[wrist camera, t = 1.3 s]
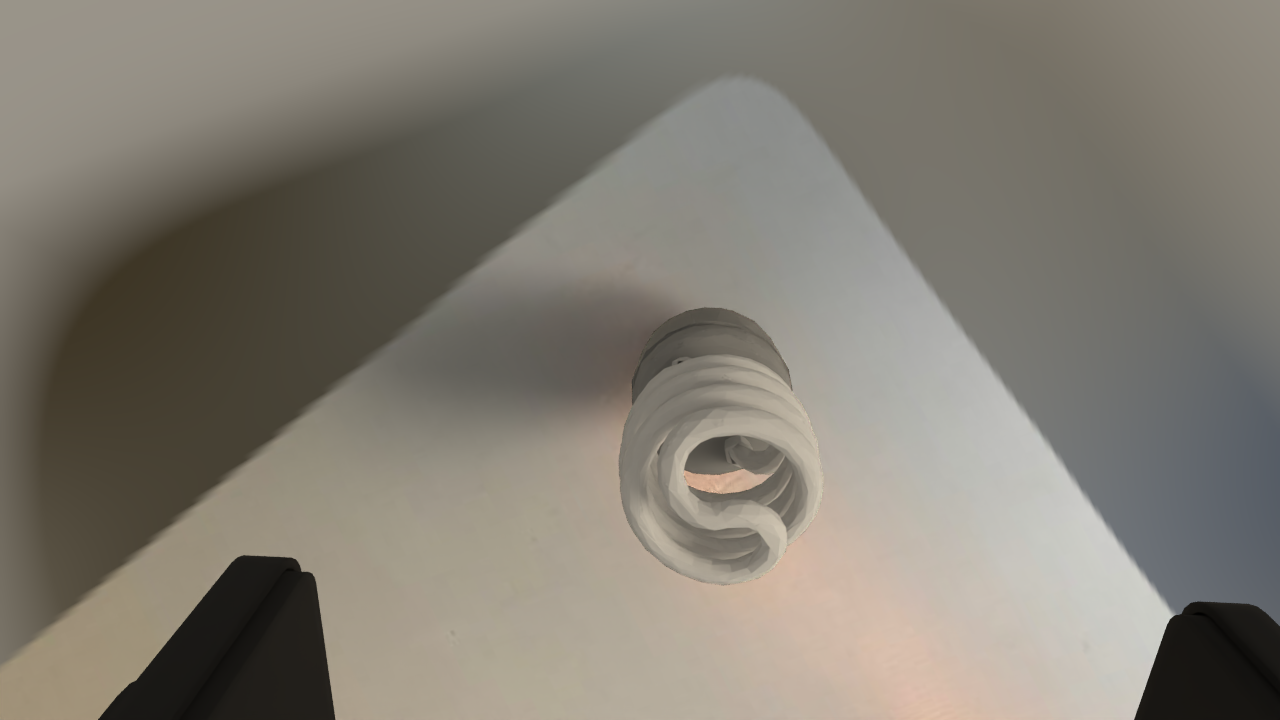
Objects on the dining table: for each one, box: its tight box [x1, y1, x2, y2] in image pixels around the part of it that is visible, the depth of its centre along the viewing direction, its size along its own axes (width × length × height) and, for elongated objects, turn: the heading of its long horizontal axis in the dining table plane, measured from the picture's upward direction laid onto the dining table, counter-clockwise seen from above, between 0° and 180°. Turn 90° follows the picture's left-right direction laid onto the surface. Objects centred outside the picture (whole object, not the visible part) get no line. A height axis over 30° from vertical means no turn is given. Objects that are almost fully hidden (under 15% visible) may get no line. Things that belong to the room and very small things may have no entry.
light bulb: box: [619, 308, 823, 585], centre depth 26 cm, size 6×6×12 cm
